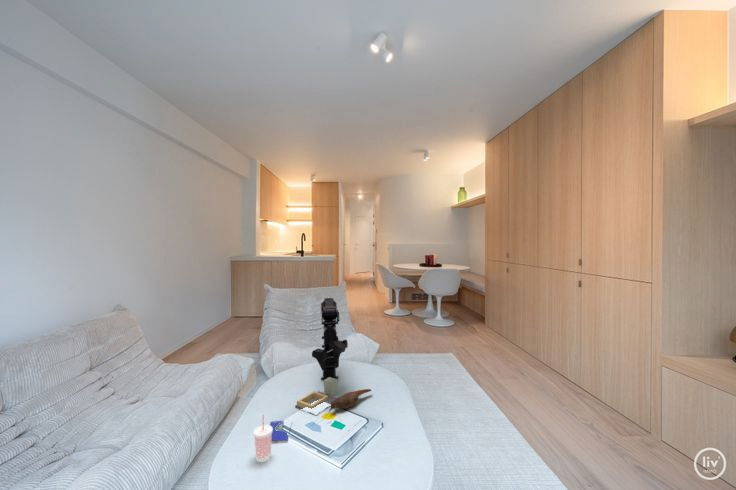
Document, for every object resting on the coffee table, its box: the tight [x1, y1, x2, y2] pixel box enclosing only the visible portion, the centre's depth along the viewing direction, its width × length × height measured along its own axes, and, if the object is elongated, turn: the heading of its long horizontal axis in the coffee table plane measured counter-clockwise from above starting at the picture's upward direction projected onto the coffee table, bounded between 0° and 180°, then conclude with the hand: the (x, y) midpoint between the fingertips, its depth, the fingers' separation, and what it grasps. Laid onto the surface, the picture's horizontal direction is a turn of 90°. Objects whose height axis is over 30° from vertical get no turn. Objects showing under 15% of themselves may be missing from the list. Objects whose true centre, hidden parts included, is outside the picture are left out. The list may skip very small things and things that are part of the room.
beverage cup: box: [253, 414, 273, 463], centre depth 105 cm, size 6×6×14 cm
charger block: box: [323, 377, 339, 396], centre depth 150 cm, size 4×5×6 cm
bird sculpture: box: [328, 388, 372, 413], centre depth 138 cm, size 7×25×5 cm, turn 137°
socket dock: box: [294, 391, 338, 410], centre depth 139 cm, size 15×12×3 cm
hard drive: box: [269, 420, 289, 445], centre depth 118 cm, size 2×8×12 cm
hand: (329, 367), depth 150 cm, fingers open, 9 cm apart
